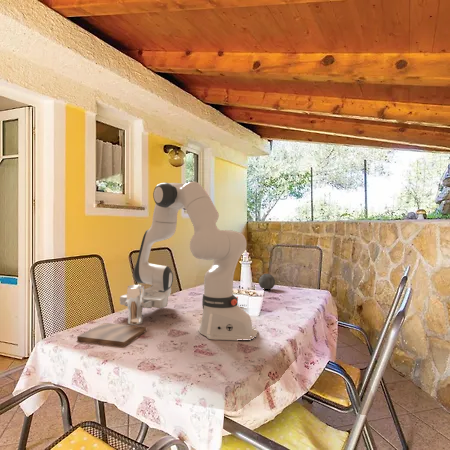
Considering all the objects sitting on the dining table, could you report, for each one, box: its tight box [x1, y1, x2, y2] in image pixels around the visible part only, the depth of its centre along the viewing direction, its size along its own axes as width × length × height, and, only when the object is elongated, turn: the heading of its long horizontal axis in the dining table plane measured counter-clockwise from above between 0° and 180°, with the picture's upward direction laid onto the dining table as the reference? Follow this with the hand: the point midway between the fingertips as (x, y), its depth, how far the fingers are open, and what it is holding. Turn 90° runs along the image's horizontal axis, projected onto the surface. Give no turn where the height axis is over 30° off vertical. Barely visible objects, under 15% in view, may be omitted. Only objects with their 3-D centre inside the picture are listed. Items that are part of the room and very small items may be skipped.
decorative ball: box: [258, 273, 276, 290], centre depth 209 cm, size 10×10×10 cm
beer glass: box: [126, 284, 145, 326], centre depth 138 cm, size 7×7×15 cm
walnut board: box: [76, 322, 147, 347], centre depth 122 cm, size 18×16×2 cm
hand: (134, 305), depth 137 cm, fingers closed on beer glass, 6 cm apart
